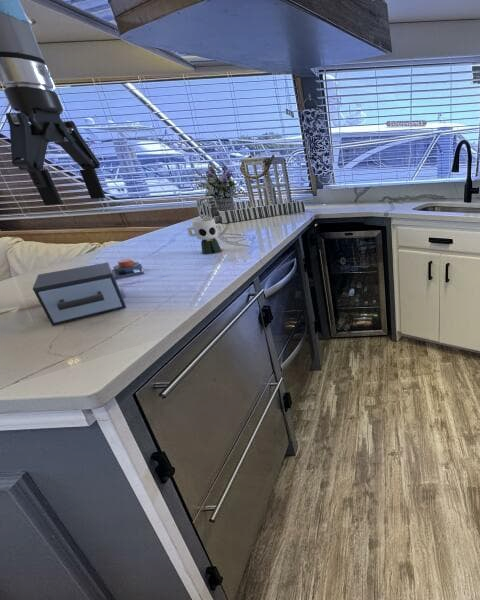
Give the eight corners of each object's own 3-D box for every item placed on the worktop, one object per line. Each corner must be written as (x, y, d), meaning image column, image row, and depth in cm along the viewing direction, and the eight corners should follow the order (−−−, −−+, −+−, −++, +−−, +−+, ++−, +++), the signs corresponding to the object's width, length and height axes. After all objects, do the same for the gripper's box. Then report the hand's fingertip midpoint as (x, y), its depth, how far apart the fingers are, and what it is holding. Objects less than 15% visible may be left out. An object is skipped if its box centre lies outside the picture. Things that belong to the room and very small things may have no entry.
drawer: (124, 312, 71) (112, 283, 69) (52, 330, 64) (36, 299, 62) (117, 293, 83) (107, 268, 80) (56, 306, 76) (42, 279, 73)
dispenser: (126, 307, 76) (111, 273, 73) (52, 326, 68) (32, 288, 65) (121, 293, 85) (108, 262, 82) (55, 308, 78) (38, 274, 74)
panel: (93, 289, 89) (87, 276, 88) (92, 281, 96) (86, 268, 94) (147, 278, 97) (142, 265, 95) (142, 271, 103) (138, 259, 102)
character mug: (197, 260, 113) (186, 223, 108) (195, 256, 119) (184, 221, 113) (231, 254, 119) (221, 219, 114) (227, 251, 125) (218, 217, 119)
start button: (120, 268, 94) (118, 263, 94) (119, 266, 97) (117, 261, 96) (135, 266, 97) (133, 260, 96) (134, 263, 99) (132, 258, 98)
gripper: (-9, 72, 52) (53, 206, 61) (94, 100, 75) (129, 195, 83) (-64, 73, 51) (6, 209, 60) (58, 101, 74) (96, 197, 82)
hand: (78, 201), depth 72 cm, fingers open, 13 cm apart
